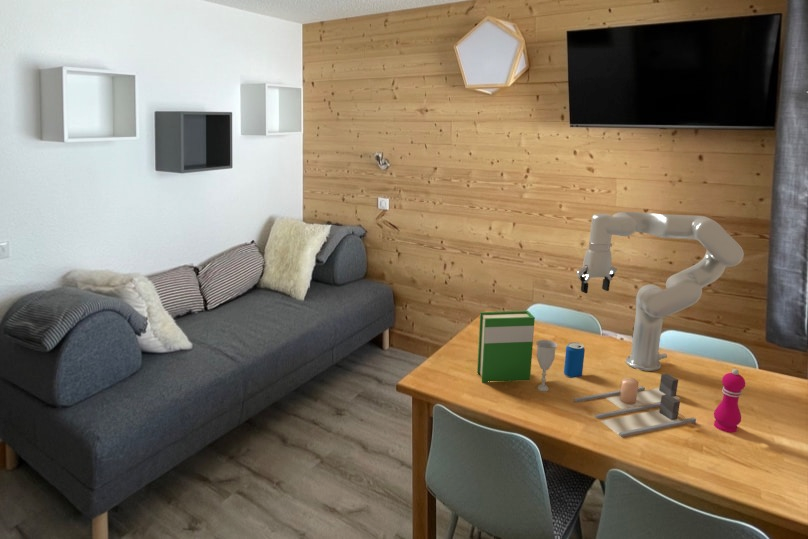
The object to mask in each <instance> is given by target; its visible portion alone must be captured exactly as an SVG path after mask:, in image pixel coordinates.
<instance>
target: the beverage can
mask: <svg viewBox="0 0 808 539" xmlns="http://www.w3.org/2000/svg"><path fill="white" fill-rule="evenodd" d="M585 350H586V349H585V346H584V344H583V343H580V342H573V341H572V342H569V343H567V345H566V347H565V357H564V367H563V374H564V375H565V376H566V377H567V378H569V379H575V378H579V377H582V376H583V372H584V371H583V370H584V360H585V352H586V351H585Z"/></svg>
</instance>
